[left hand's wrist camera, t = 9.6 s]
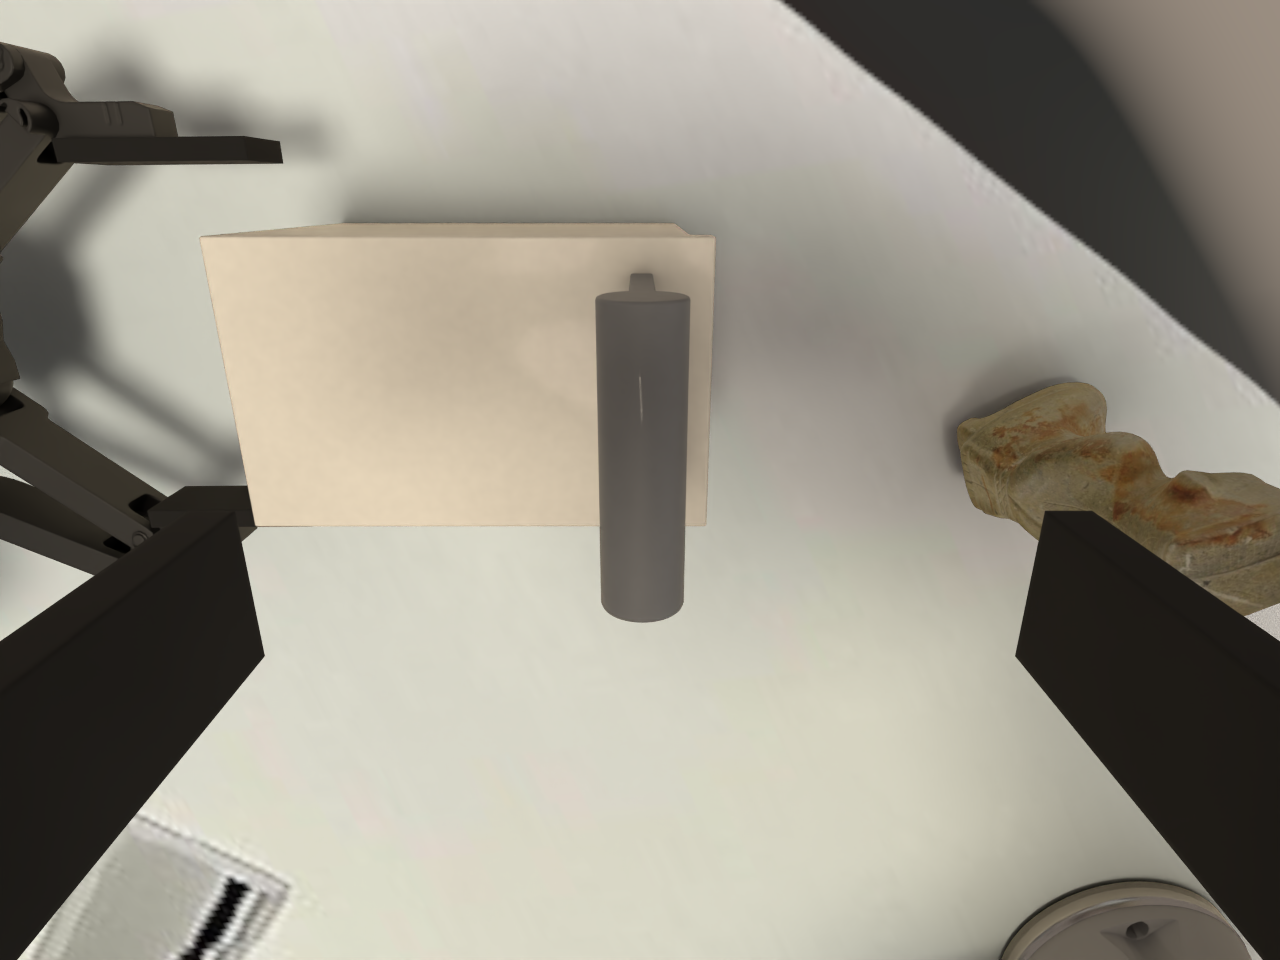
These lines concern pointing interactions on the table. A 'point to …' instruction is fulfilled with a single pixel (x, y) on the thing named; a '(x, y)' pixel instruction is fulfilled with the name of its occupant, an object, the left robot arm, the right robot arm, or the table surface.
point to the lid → (477, 387)
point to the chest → (479, 229)
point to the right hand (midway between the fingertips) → (298, 342)
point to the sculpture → (1124, 492)
